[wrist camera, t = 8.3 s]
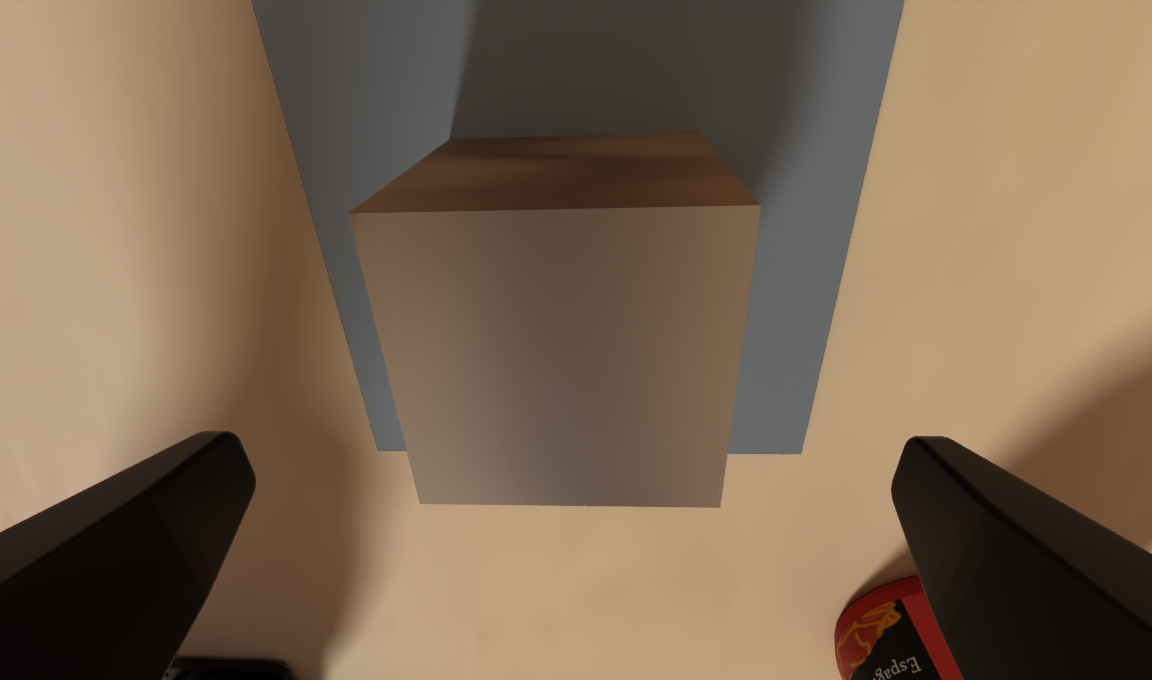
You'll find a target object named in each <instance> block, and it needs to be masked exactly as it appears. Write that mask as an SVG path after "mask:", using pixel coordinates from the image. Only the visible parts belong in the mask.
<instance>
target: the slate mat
mask: <svg viewBox="0 0 1152 680" xmlns="http://www.w3.org/2000/svg"><path fill="white" fill-rule="evenodd" d="M251 1H252V5H253V8H254V12H255V15H256V19H257V22H258V26H259V30H260V33H261V37H262V40H263V44H264V47H265V51H266V54H267V58H268V62H269V65H270V69H271V72H272V76H273V79H274V83H275V86H276V90H277V94H278V97H279V101H280V104H281V108H282V111H283V115H284V119H285V122H286V126H287V129H288V133H289V136H290V140H291V143H292V147H293V151H294V154H295V158H296V161H297V165H298V168H299V172H300V175H301V179H302V183H303V186H304V190H305V193H306V197H307V200H308V204H309V208H310V211H311V215H312V218H313V222H314V225H315V229H316V232H317V236H318V240H319V243H320V247H321V250H322V254H323V257H324V261H325V264H326V268H327V272H328V275H329V279H330V282H331V286H332V289H333V293H334V296H335V300H336V304H337V307H338V311H339V314H340V318H341V321H342V325H343V329H344V332H345V336H346V339H347V343H348V346H349V350H350V353H351V357H352V361H353V364H354V368H355V371H356V375H357V378H358V382H359V385H360V389H361V393H362V396H363V400H364V403H365V407H366V410H367V414H368V418H369V421H370V425H371V428H372V432H373V435H374V439H375V442H376V446H377V450H378V451H407V449H406V445H405V441H404V437H403V433H402V429H401V425H400V421H399V417H398V413H397V409H396V405H395V401H394V397H393V393H392V389H391V385H390V381H389V377H388V373H387V369H386V365H385V361H384V357H383V353H382V348H381V344H380V340H379V336H378V332H377V328H376V324H375V320H374V316H373V312H372V308H371V304H370V300H369V296H368V292H367V288H366V284H365V280H364V276H363V272H362V268H361V264H360V260H359V256H358V252H357V248H356V244H355V240H354V236H353V232H352V228H351V224H350V220H349V216H348V213H349V212H351V211H352V210H353V209H355V208H356V207H357V206H359V205H360V204H362V203H363V202H364V201H366V200H367V199H368V198H370V197H371V196H372V195H374V194H375V193H377V192H378V191H379V190H381V189H382V188H383V187H385V186H386V185H387V184H389V183H390V182H392V181H393V180H394V179H396V178H397V177H398V176H400V175H401V174H402V173H404V172H405V171H407V170H408V169H409V168H411V167H412V166H413V165H415V164H416V163H417V162H419V161H420V160H422V159H423V158H424V157H426V156H427V155H428V154H430V153H431V152H432V151H434V150H435V149H437V148H438V147H439V146H441V145H442V144H443V143H445V142H446V141H447V140H449V139H474V138H510V137H546V136H581V135H617V134H653V133H689V132H699V133H700V134H701V135H702V136H703V137H704V138H705V140H706V141H707V142H708V143H709V144H710V145H711V147H712V148H713V149H714V150H715V151H716V153H717V154H718V155H719V156H720V157H721V158H722V160H723V161H724V162H725V163H726V164H727V165H728V167H729V168H730V169H731V170H732V171H733V173H734V174H735V175H736V176H737V177H738V178H739V180H740V181H741V182H742V183H743V184H744V185H745V187H746V188H747V189H748V190H749V191H750V193H751V194H752V195H753V196H754V197H755V198H756V200H757V201H758V202H759V203H760V204H761V211H760V219H759V226H758V233H757V241H756V248H755V255H754V263H753V270H752V277H751V284H750V292H749V299H748V306H747V314H746V321H745V328H744V336H743V343H742V350H741V358H740V365H739V372H738V380H737V387H736V394H735V402H734V409H733V416H732V424H731V431H730V438H729V446H728V453H727V454H801V452H802V448H803V444H804V439H805V435H806V430H807V426H808V422H809V417H810V413H811V408H812V404H813V400H814V395H815V391H816V386H817V382H818V378H819V373H820V369H821V364H822V360H823V356H824V351H825V347H826V342H827V338H828V334H829V329H830V325H831V320H832V316H833V312H834V307H835V303H836V299H837V294H838V290H839V285H840V281H841V277H842V272H843V268H844V263H845V259H846V255H847V250H848V246H849V241H850V237H851V233H852V228H853V224H854V219H855V215H856V211H857V206H858V202H859V197H860V193H861V189H862V184H863V180H864V175H865V171H866V167H867V162H868V158H869V153H870V149H871V145H872V140H873V136H874V132H875V127H876V123H877V118H878V114H879V110H880V105H881V101H882V96H883V92H884V88H885V83H886V79H887V74H888V70H889V66H890V61H891V57H892V52H893V48H894V44H895V39H896V35H897V30H898V26H899V22H900V17H901V13H902V8H903V4H904V0H251Z"/></svg>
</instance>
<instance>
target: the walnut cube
mask: <svg viewBox="0 0 1152 680" xmlns="http://www.w3.org/2000/svg"><path fill="white" fill-rule="evenodd" d="M760 211H761V204H760V203H759V202H758V201H757V200H756V198H755V197H754V196H753V195H752V194H751V193H750V191H749V190H748V189H747V188H746V187H745V185H744V184H743V183H742V182H741V181H740V180H739V178H738V177H737V176H736V175H735V174H734V173H733V171H732V170H731V169H730V168H729V167H728V165H727V164H726V163H725V162H724V161H723V160H722V158H721V157H720V156H719V155H718V154H717V153H716V151H715V150H714V149H713V148H712V147H711V145H710V144H709V143H708V142H707V141H706V140H705V138H704V137H703V136H702V135H701V134H700V133H699V132H689V133H653V134H617V135H581V136H546V137H510V138H474V139H449V140H447V141H446V142H445V143H443V144H442V145H441V146H439V147H438V148H437V149H435V150H434V151H432V152H431V153H430V154H428V155H427V156H426V157H424V158H423V159H422V160H420V161H419V162H417V163H416V164H415V165H413V166H412V167H411V168H409V169H408V170H407V171H405V172H404V173H402V174H401V175H400V176H398V177H397V178H396V179H394V180H393V181H392V182H390V183H389V184H387V185H386V186H385V187H383V188H382V189H381V190H379V191H378V192H377V193H375V194H374V195H372V196H371V197H370V198H368V199H367V200H366V201H364V202H363V203H362V204H360V205H359V206H357V207H356V208H355V209H353V210H352V211H351V212H349V213H348V216H349V220H350V224H351V228H352V232H353V236H354V240H355V244H356V248H357V252H358V256H359V260H360V264H361V268H362V272H363V276H364V280H365V284H366V288H367V292H368V296H369V300H370V304H371V308H372V312H373V316H374V320H375V324H376V328H377V332H378V336H379V340H380V344H381V348H382V353H383V357H384V361H385V365H386V369H387V373H388V377H389V381H390V385H391V389H392V393H393V397H394V401H395V405H396V409H397V413H398V417H399V421H400V425H401V429H402V433H403V437H404V441H405V445H406V449H407V453H408V457H409V461H410V465H411V469H412V473H413V477H414V481H415V486H416V490H417V494H418V498H419V502H420V504H475V505H555V506H635V507H715V508H720V504H721V497H722V489H723V482H724V475H725V467H726V460H727V453H728V446H729V438H730V431H731V424H732V416H733V409H734V402H735V394H736V387H737V380H738V372H739V365H740V358H741V350H742V343H743V336H744V328H745V321H746V314H747V306H748V299H749V292H750V284H751V277H752V270H753V263H754V255H755V248H756V241H757V233H758V226H759V219H760Z"/></svg>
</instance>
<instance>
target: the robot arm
mask: <svg viewBox="0 0 1152 680" xmlns="http://www.w3.org/2000/svg"><path fill="white" fill-rule="evenodd" d="M255 486H256V477H255V473H254V471H253V468H252V466H251V464H250V462H249V459H248V457H247V455H246V453H245V450H244V448H243V446H242V444H241V441H240V439H239V438H238V437H237V436H236V435H235V434H234V433H232V432H228V431H205V432H200V433H197V434H195V435H193V436H191V437H189V438H187V439H185V440H183V441H181V442H179V443H177V444H175V445H173V446H171V447H169V448H167V449H165V450H163V451H161V452H159V453H157V454H155V455H153V456H151V457H149V458H147V459H145V460H143V461H141V462H139V463H137V464H135V465H133V466H131V467H129V468H127V469H125V470H123V471H121V472H119V473H117V474H115V475H113V476H111V477H109V478H107V479H105V480H103V481H101V482H99V483H97V484H95V485H93V486H91V487H89V488H87V489H85V490H83V491H81V492H79V493H77V494H75V495H73V496H71V497H70V498H68V499H66V500H64V501H62V502H60V503H58V504H56V505H54V506H52V507H50V508H48V509H46V510H44V511H42V512H40V513H38V514H36V515H34V516H32V517H30V518H28V519H26V520H24V521H22V522H20V523H18V524H16V525H14V526H12V527H10V528H8V529H6V530H4V531H2V532H0V680H293V679H292V677H291V675H290V673H289V671H288V669H287V668H286V667H285V666H283V665H281V664H278V663H260V662H229V661H197V660H174V658H175V656H176V654H177V653H178V651H179V649H180V647H181V645H182V644H183V642H184V640H185V638H186V636H187V635H188V633H189V631H190V629H191V627H192V626H193V624H194V622H195V620H196V618H197V617H198V615H199V613H200V611H201V609H202V607H203V605H204V603H205V601H206V600H207V598H208V596H209V593H210V591H211V589H212V587H213V585H214V583H215V581H216V579H217V576H218V574H219V572H220V569H221V567H222V565H223V563H224V560H225V558H226V556H227V553H228V551H229V549H230V547H231V544H232V542H233V540H234V537H235V535H236V533H237V531H238V528H239V526H240V524H241V521H242V519H243V517H244V515H245V512H246V510H247V508H248V505H249V503H250V501H251V499H252V496H253V494H254V491H255ZM891 494H892V500H893V503H894V506H895V509H896V512H897V515H898V518H899V520H900V523H901V526H902V529H903V532H904V535H905V538H906V540H907V543H908V546H909V549H910V552H911V555H912V557H913V560H914V563H915V566H916V569H917V572H918V575H919V577H920V580H921V583H922V586H923V589H924V592H925V595H926V597H927V600H928V602H929V605H930V608H931V610H932V613H933V615H934V618H935V620H936V622H937V624H938V627H939V629H940V631H941V633H942V636H943V638H944V640H945V642H946V644H947V646H948V648H949V650H950V653H951V655H952V657H953V659H954V661H955V663H956V665H957V667H958V670H959V672H960V674H961V676H962V678H963V680H1152V554H1151V553H1150V552H1148V551H1146V550H1144V549H1143V548H1141V547H1139V546H1137V545H1136V544H1134V543H1132V542H1130V541H1128V540H1127V539H1125V538H1123V537H1121V536H1120V535H1118V534H1116V533H1114V532H1113V531H1111V530H1109V529H1107V528H1106V527H1104V526H1102V525H1100V524H1099V523H1097V522H1095V521H1093V520H1092V519H1090V518H1088V517H1086V516H1085V515H1083V514H1081V513H1079V512H1078V511H1076V510H1074V509H1072V508H1071V507H1069V506H1067V505H1065V504H1064V503H1062V502H1060V501H1058V500H1057V499H1055V498H1053V497H1051V496H1050V495H1048V494H1046V493H1044V492H1043V491H1041V490H1039V489H1037V488H1036V487H1034V486H1032V485H1030V484H1029V483H1027V482H1025V481H1023V480H1022V479H1020V478H1018V477H1016V476H1015V475H1013V474H1011V473H1009V472H1008V471H1006V470H1004V469H1002V468H1001V467H999V466H997V465H995V464H994V463H992V462H990V461H988V460H987V459H985V458H983V457H981V456H980V455H978V454H976V453H974V452H973V451H971V450H969V449H967V448H966V447H964V446H962V445H960V444H959V443H957V442H955V441H953V440H952V439H950V438H947V437H943V436H915V437H912V438H910V439H909V440H908V441H907V442H906V444H905V446H904V449H903V452H902V455H901V458H900V460H899V463H898V466H897V469H896V472H895V475H894V478H893V480H892V486H891Z"/></svg>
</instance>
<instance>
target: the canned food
mask: <svg viewBox="0 0 1152 680" xmlns="http://www.w3.org/2000/svg"><path fill="white" fill-rule="evenodd" d="M834 637H835V655H836V662H837V666H838V669H839V672H840V675H841V677H842V680H963V678H962V676H961V674H960V672H959V670H958V667H957V665H956V663H955V661H954V659H953V657H952V655H951V653H950V650H949V648H948V646H947V644H946V642H945V640H944V638H943V636H942V633H941V631H940V629H939V627H938V624H937V622H936V620H935V618H934V615H933V613H932V610H931V608H930V605H929V602H928V600H927V597H926V595H925V592H924V589H923V586H922V583H921V580H920V577H919V576H915V577H911V578H907V579H903V580H898V581H895V582H893V583H890V584H887V585H884V586H882V587H879V588H877V589H875V590H874V591H872V592H870V593H868V594H866V595H864V596H863V597H862V598H860V599H859V600H857V601H856V602H855V603H853V604H852V605H851V606H850V607H849V608H848V609H847V611H846V612H845V613H844V614H843V615H842V616H841V618H840V620H839V622H838V623H837V625H836V630H835V634H834Z"/></svg>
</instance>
